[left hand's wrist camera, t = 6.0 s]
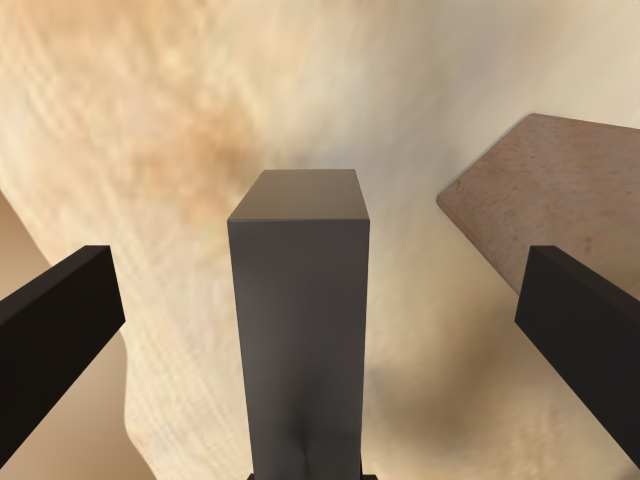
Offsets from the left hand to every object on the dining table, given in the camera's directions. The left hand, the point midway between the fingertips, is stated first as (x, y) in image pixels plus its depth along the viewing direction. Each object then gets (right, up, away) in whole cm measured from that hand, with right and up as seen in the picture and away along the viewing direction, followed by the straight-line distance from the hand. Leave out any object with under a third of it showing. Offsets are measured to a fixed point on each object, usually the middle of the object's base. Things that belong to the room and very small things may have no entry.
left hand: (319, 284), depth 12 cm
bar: (0, -6, +16) cm, 17 cm away
